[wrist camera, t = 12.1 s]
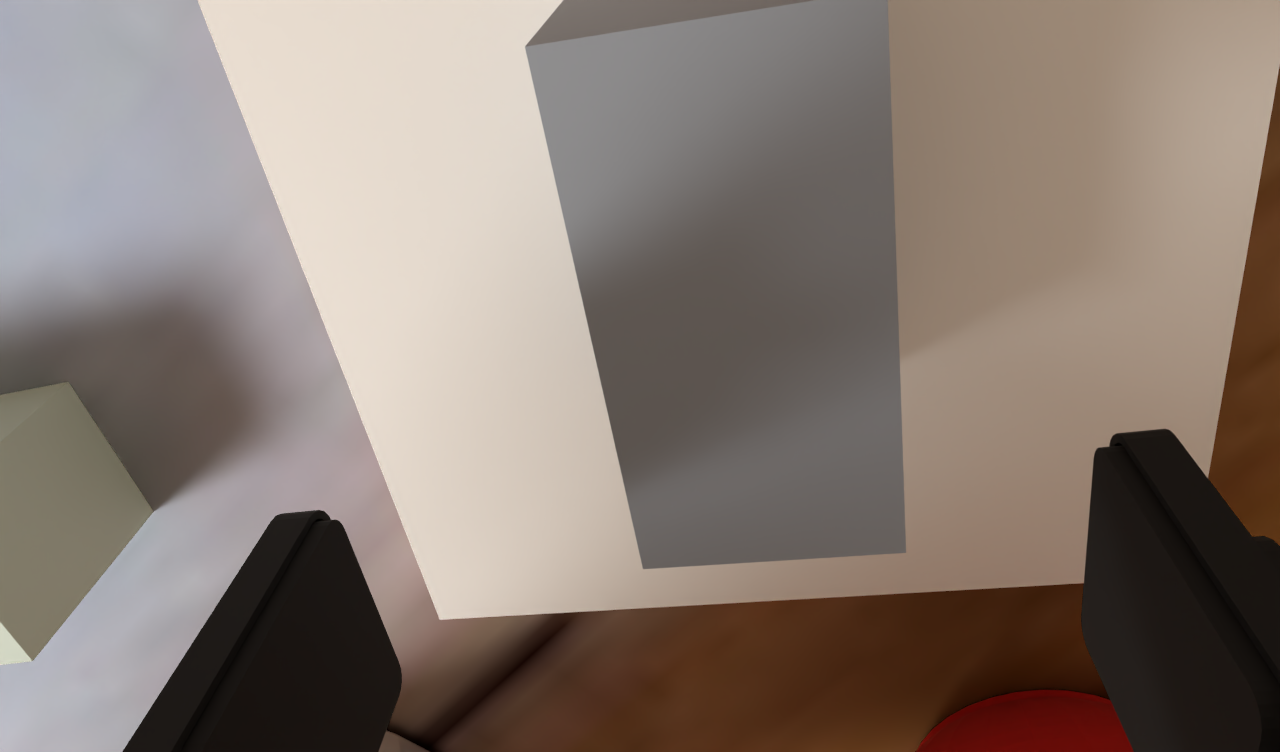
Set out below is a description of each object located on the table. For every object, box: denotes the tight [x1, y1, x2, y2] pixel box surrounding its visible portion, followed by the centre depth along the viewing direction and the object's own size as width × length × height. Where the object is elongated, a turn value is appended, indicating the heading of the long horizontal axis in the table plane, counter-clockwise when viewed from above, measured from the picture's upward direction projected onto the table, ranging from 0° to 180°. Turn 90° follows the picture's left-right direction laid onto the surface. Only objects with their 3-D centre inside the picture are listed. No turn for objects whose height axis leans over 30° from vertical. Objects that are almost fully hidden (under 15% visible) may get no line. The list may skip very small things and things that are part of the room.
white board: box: [198, 0, 1280, 620], centre depth 18 cm, size 17×17×2 cm
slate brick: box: [525, 0, 906, 569], centre depth 15 cm, size 8×4×5 cm, turn 10°
